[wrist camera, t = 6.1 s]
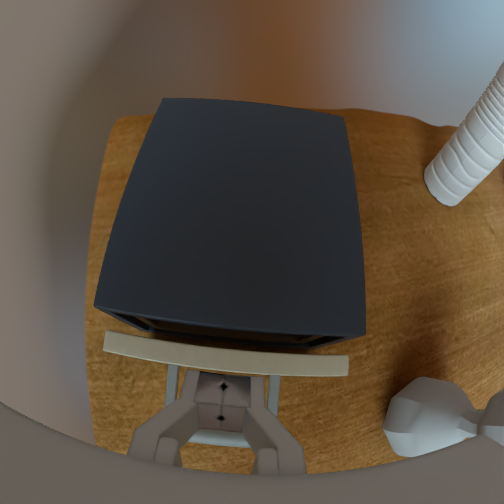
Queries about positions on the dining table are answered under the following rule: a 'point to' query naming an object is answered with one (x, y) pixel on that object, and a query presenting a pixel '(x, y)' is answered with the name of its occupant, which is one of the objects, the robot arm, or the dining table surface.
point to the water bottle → (470, 148)
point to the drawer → (225, 363)
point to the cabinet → (239, 226)
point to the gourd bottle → (439, 417)
